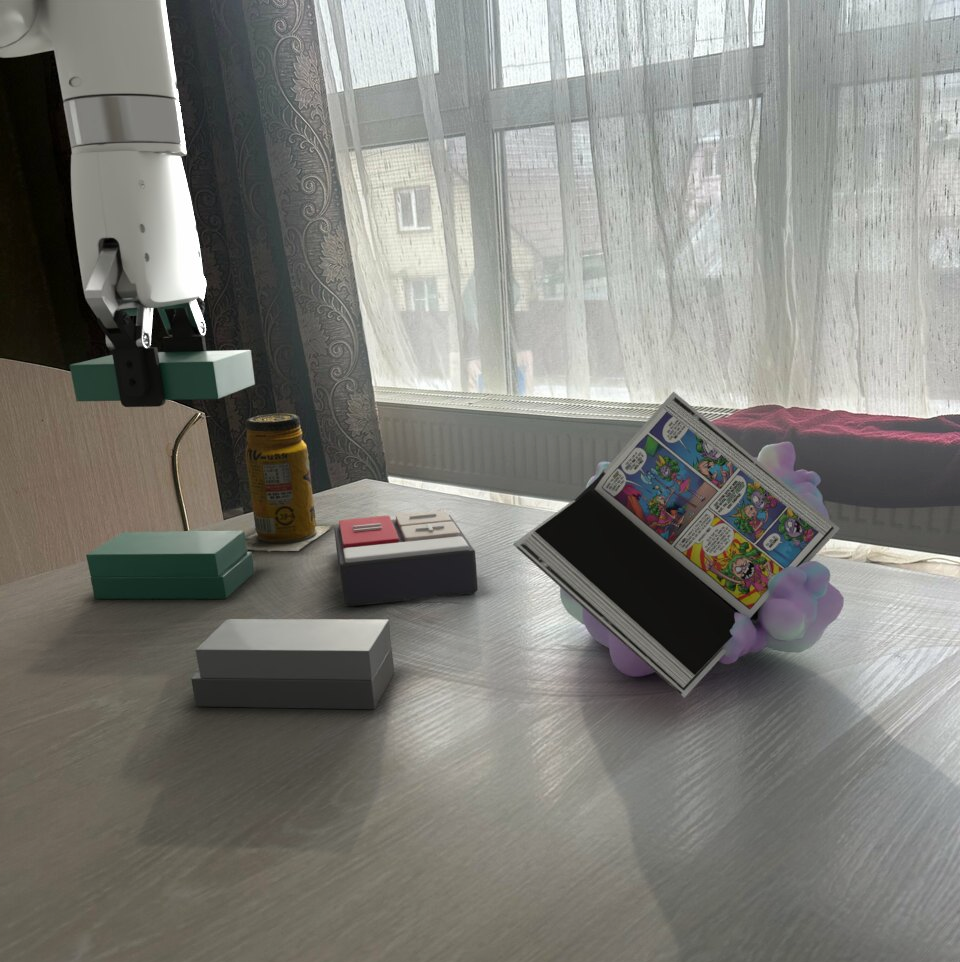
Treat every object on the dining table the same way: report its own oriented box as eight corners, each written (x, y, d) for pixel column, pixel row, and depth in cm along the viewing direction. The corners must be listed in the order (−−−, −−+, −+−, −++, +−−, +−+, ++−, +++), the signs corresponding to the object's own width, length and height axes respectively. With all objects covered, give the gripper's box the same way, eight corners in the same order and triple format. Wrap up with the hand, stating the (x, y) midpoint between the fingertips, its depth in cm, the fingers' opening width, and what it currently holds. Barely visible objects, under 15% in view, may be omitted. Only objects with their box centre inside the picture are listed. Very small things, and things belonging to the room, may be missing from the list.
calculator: (449, 505, 95) (475, 541, 81) (452, 549, 96) (478, 592, 82) (332, 517, 93) (338, 555, 79) (337, 561, 95) (344, 607, 81)
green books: (94, 599, 86) (85, 555, 85) (132, 573, 93) (123, 531, 91) (226, 599, 85) (218, 553, 83) (255, 572, 91) (248, 530, 89)
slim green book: (76, 401, 73) (69, 364, 72) (123, 387, 79) (117, 353, 78) (218, 399, 71) (213, 361, 70) (255, 384, 77) (250, 349, 76)
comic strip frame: (782, 519, 81) (676, 332, 73) (970, 591, 61) (851, 344, 54) (583, 674, 80) (458, 501, 73) (707, 796, 61) (553, 575, 54)
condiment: (332, 528, 104) (318, 410, 99) (298, 552, 96) (281, 427, 91) (268, 526, 105) (252, 411, 101) (229, 550, 98) (210, 427, 93)
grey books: (195, 706, 65) (185, 650, 64) (228, 671, 70) (219, 618, 69) (374, 709, 63) (368, 651, 62) (394, 673, 68) (389, 618, 67)
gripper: (137, 145, 77) (174, 381, 84) (0, 125, 61) (59, 418, 68) (229, 139, 76) (259, 380, 82) (113, 117, 60) (162, 417, 67)
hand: (168, 395), depth 75 cm, fingers closed on slim green book, 7 cm apart
